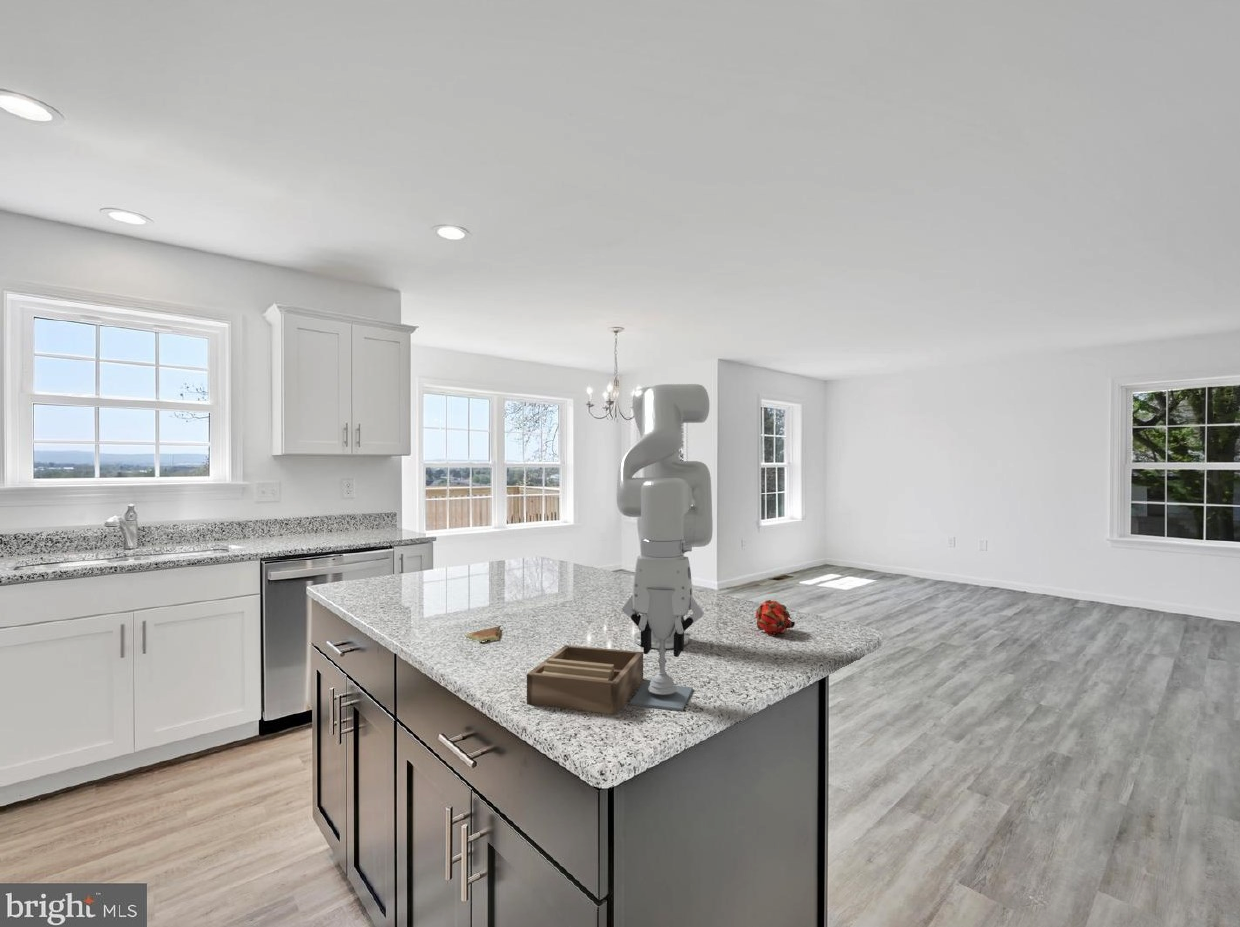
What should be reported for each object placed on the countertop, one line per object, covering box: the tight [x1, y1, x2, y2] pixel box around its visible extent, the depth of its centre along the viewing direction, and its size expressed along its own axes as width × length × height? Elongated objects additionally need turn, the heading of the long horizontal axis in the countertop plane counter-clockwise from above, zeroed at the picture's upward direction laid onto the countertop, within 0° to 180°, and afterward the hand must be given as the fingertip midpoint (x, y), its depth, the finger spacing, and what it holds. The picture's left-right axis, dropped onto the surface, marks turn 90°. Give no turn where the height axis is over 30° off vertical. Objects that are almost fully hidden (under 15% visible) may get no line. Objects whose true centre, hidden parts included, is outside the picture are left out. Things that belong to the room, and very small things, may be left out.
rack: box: [526, 644, 644, 716], centre depth 105 cm, size 18×16×5 cm
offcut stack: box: [542, 657, 614, 681], centre depth 100 cm, size 4×12×6 cm, turn 73°
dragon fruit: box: [755, 599, 796, 637], centre depth 143 cm, size 8×8×12 cm
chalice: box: [646, 588, 677, 695], centre depth 102 cm, size 7×7×18 cm
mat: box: [629, 681, 694, 712], centre depth 102 cm, size 10×9×1 cm
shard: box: [464, 625, 502, 643], centre depth 140 cm, size 11×8×2 cm
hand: (662, 652), depth 102 cm, fingers closed on chalice, 4 cm apart
